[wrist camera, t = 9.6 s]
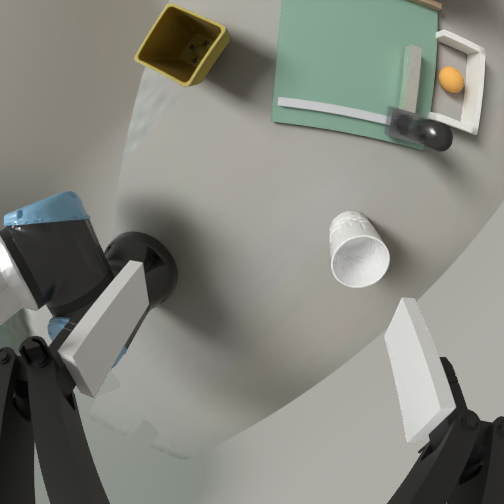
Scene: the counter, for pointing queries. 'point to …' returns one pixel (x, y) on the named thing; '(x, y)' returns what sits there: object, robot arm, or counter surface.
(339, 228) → the white cup
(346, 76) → the pitch
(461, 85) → the ball
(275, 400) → the counter surface
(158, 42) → the flower pot
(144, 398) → the counter surface
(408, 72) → the black lever handle
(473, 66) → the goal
